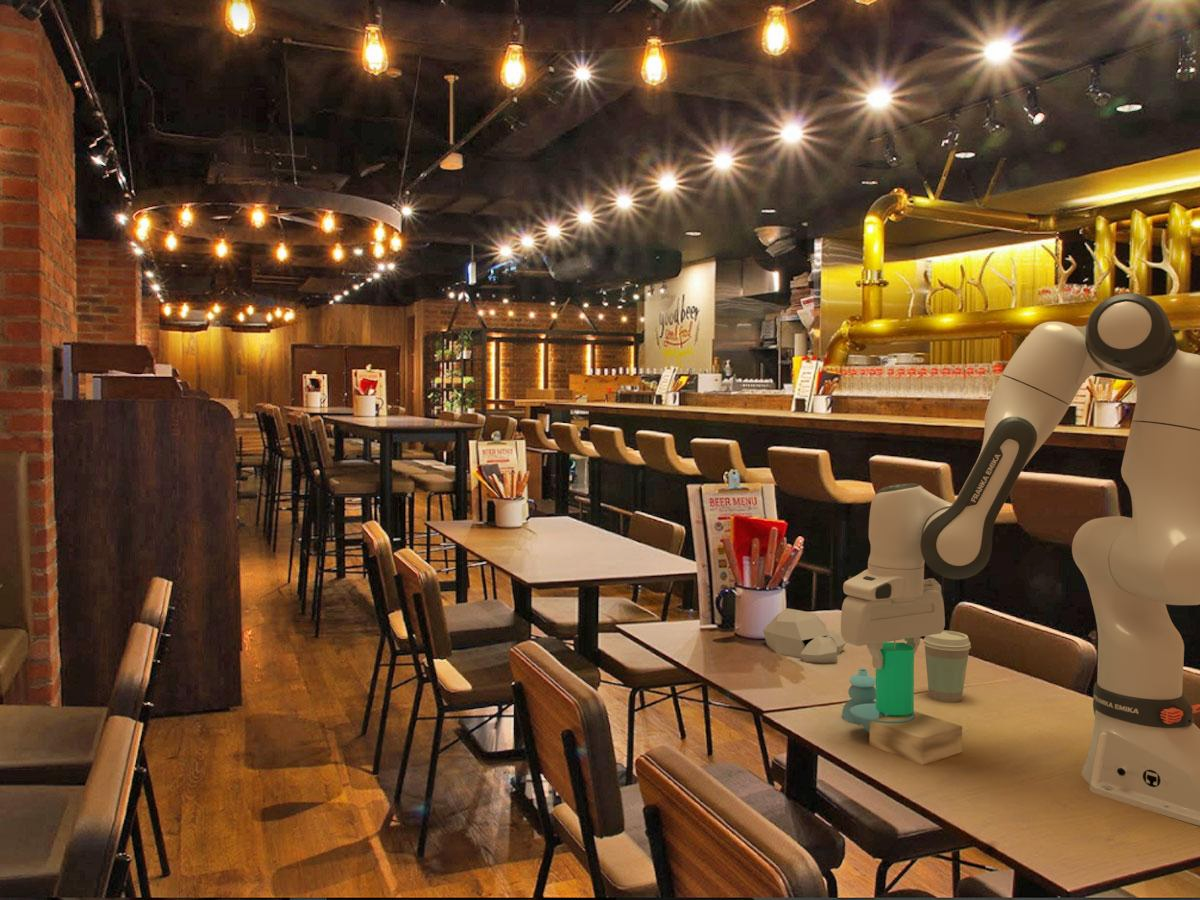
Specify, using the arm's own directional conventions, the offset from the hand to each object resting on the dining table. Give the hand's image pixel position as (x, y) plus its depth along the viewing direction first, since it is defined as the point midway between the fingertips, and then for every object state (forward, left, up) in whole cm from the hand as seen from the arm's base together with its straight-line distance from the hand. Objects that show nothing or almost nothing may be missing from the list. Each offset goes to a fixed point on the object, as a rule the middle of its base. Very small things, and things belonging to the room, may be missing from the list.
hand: (893, 665), depth 164 cm
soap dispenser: (+4, 0, -12) cm, 13 cm away
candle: (0, 0, -7) cm, 7 cm away
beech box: (-6, +1, -13) cm, 14 cm away
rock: (+49, -23, -13) cm, 55 cm away
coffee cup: (+12, -26, -12) cm, 31 cm away
